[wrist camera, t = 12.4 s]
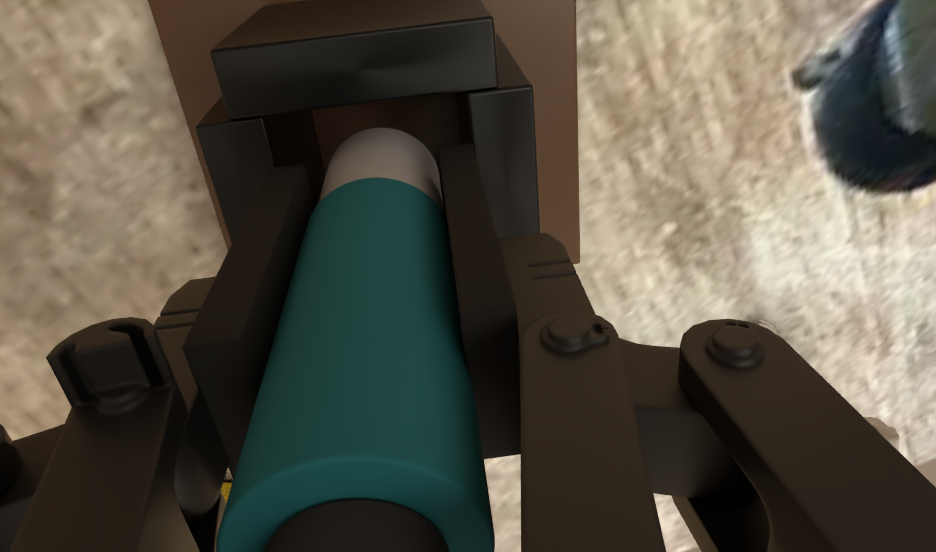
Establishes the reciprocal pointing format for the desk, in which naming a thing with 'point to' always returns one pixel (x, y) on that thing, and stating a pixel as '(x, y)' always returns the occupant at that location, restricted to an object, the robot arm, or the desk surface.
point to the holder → (383, 94)
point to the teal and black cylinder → (366, 378)
